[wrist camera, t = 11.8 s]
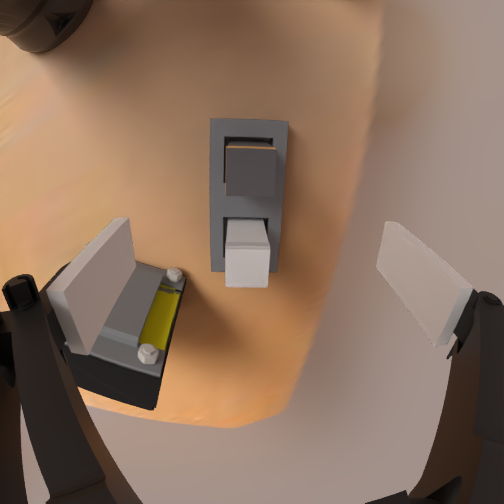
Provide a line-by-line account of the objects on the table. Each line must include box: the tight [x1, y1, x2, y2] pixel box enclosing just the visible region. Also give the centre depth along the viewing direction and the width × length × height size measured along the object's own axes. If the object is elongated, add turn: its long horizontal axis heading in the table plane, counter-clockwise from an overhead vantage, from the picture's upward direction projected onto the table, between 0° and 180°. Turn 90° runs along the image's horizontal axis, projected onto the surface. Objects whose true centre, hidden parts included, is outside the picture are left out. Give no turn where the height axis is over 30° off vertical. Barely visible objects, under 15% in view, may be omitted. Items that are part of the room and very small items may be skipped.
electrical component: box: [62, 242, 187, 411], centre depth 35 cm, size 18×10×20 cm, turn 71°
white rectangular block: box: [225, 217, 270, 287], centre depth 35 cm, size 5×5×11 cm
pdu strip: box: [210, 119, 288, 272], centre depth 37 cm, size 20×9×4 cm, turn 178°
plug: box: [225, 140, 277, 197], centre depth 31 cm, size 5×5×11 cm
